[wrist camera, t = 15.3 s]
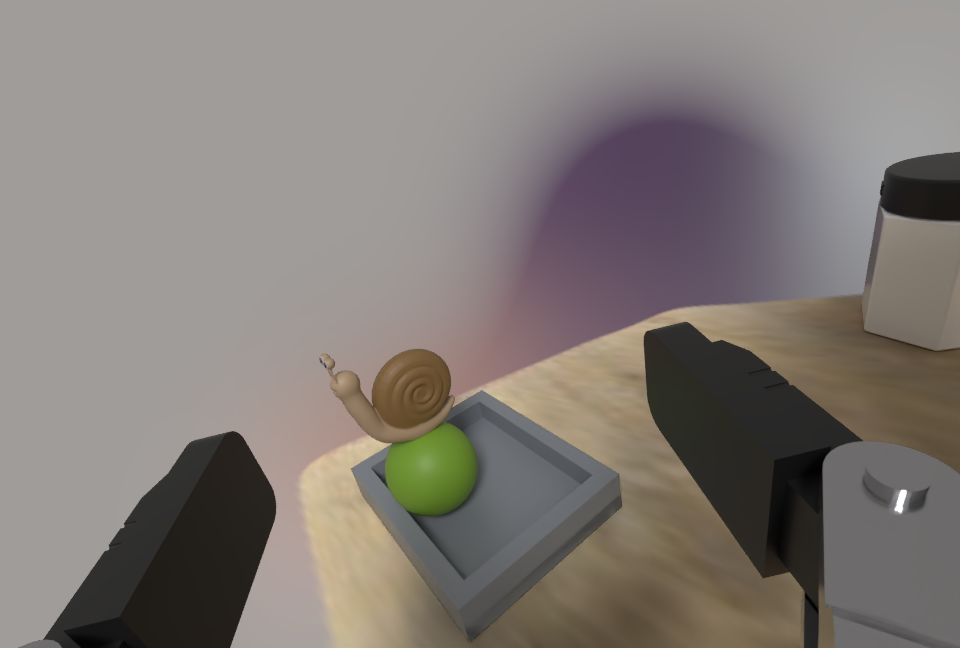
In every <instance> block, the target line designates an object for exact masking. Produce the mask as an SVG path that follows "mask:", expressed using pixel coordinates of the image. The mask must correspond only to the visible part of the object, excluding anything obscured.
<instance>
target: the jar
mask: <svg viewBox="0 0 960 648" xmlns="http://www.w3.org/2000/svg"><path fill="white" fill-rule="evenodd" d="M880 195H881V198H880V200H879V204H878V210H877V216H876V222H875V228H874V234H873V240H872V246H871V252H870V258H869V264H868V269H867V276H866V282H865V288H864V293H863V299H862V313H863V322H864V329H865V331H867V332H870V333H873V334H877V335H881V336H884V337H888V338H891V339H895V340H898V341H902V342H905V343H909V344H912V345H916V346H919V347H923V348H926V349H930V350H933V351H941V350H948V349H955V348H960V152H954V153H944V154H936V155H928V156H922V157H917V158H912V159H907V160H904V161H900V162H898V163H895V164H893V165H891V166H889V167H888V168H887V169H886V171H885V175H884V181H882V184H881V190H880Z"/></svg>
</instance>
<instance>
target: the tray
mask: <svg viewBox="0 0 960 648" xmlns="http://www.w3.org/2000/svg"><path fill="white" fill-rule="evenodd" d="M444 422H447V423H450V424H452V425H454V426H456V427H457V428H459V429H460V430H461V431H462V432H463V433H464V434H465V435H466V436H467V437H468V438H469V440H470V441H471V443H472V445H473V447H474V449H475V452H476V456H477V463H478V471H477V478H476V482H475V485H474V487H473V489H472V491H471V493H470V494H469V496H468V497H467V499H466V500H465V501H464V502H463V503H462V504H461V505H460V506H459V507H457V508H456V509H454V510H453V511H451V512H449V513H446V514H443V515H439V516H432V517H429V516H420V515H417V514H414V513H412V512H410V511H408V510H406V509H405V508H403V507H402V506H401V505H400V504H399V503H398V502H397V501H396V500H395V499H394V497H393V496H392V494H391V492H390V490H389V488H388V485H387V482H386V477H385V463H386V458H387V454H388V451H389V449H390V447H391V445H392V444H391V445H390V446H388V447H386V448H384V449H383V450H381V451H379V452H378V453H376V454H374V455H373V456H371V457H369V458H368V459H366V460H364V461H363V462H361V463H359V464H358V465H356V466H354V467H353V468H351V470H352V472H353V475H354V477H355V479H356V482H357V484H358V486H359V489H360V491H361V493H362V496H363V497H364V499H365V500H366V501H367V503H368V504H369V505H370V507H371V508H372V510H373V511H374V512H375V514H376V515H377V516H378V518H379V519H380V520H381V522H382V523H383V525H384V526H385V527H386V529H387V530H388V531H389V533H390V534H391V536H392V537H393V538H394V540H395V541H396V542H397V544H398V545H399V546H400V548H401V549H402V551H403V552H404V553H405V555H406V556H407V557H408V559H409V560H410V561H411V563H412V564H413V566H414V567H415V568H416V570H417V571H418V572H419V574H420V575H421V577H422V578H423V579H424V581H425V582H426V583H427V585H428V586H429V587H430V589H431V590H432V592H433V593H434V594H435V596H436V597H437V598H438V600H439V601H440V603H441V604H442V605H443V607H444V608H445V609H446V611H447V612H448V613H449V615H450V616H451V618H452V619H453V620H454V622H455V623H456V624H457V626H458V627H459V629H460V630H461V631H462V633H463V634H464V635H465V637H466V638H467V639H468V641H469V642H471V641H472V640H474V639H475V638H476V637H477V636H478V635H479V634H480V633H481V632H483V631H484V630H485V629H486V628H487V627H488V626H489V625H490V624H491V623H493V622H494V621H495V620H496V619H497V618H498V617H499V616H500V615H501V614H503V613H504V612H505V611H506V610H507V609H508V608H509V607H510V606H511V605H513V604H514V603H515V602H516V601H517V600H518V599H519V598H520V597H521V596H523V595H524V594H525V593H526V592H527V591H528V590H529V589H530V588H531V587H533V586H534V585H535V584H536V583H537V582H538V581H539V580H540V579H541V578H543V577H544V576H545V575H546V574H547V573H548V572H549V571H550V570H551V569H553V568H554V567H555V566H556V565H557V564H558V563H559V562H560V561H561V560H563V559H564V558H565V557H566V556H567V555H568V554H569V553H570V552H572V551H573V550H574V549H575V548H576V547H577V546H578V545H579V544H580V543H582V542H583V541H584V540H585V539H586V538H587V537H588V536H589V535H590V534H592V533H593V532H594V531H595V530H596V529H597V528H598V527H599V526H600V525H602V524H603V523H604V522H605V521H606V520H607V519H608V518H609V517H610V516H612V515H613V514H614V513H615V512H616V511H617V510H618V509H619V508H620V507H622V501H621V491H620V480H619V474H618V473H616V472H615V471H613V470H612V469H610V468H608V467H607V466H605V465H603V464H602V463H600V462H598V461H597V460H595V459H594V458H592V457H590V456H589V455H587V454H585V453H584V452H582V451H580V450H579V449H577V448H576V447H574V446H572V445H571V444H569V443H567V442H566V441H564V440H563V439H561V438H559V437H558V436H556V435H554V434H553V433H551V432H549V431H548V430H546V429H545V428H543V427H541V426H540V425H538V424H536V423H535V422H533V421H531V420H530V419H528V418H527V417H525V416H523V415H522V414H520V413H518V412H517V411H515V410H513V409H512V408H510V407H509V406H507V405H505V404H504V403H502V402H500V401H499V400H497V399H496V398H494V397H492V396H491V395H489V394H487V393H486V392H484V391H482V390H481V391H480V392H478V393H476V394H475V395H473V396H471V397H470V398H468V399H466V400H465V401H463V402H461V403H460V404H458V405H456V406H455V407H453V408H452V409H451V411H450V413H449V415H448V416H447V418H446V419H445V420H444Z"/></svg>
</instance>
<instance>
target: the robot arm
mask: <svg viewBox="0 0 960 648" xmlns="http://www.w3.org/2000/svg"><path fill="white" fill-rule="evenodd" d="M644 354H645V369H646V384H647V398H648V403H649V407H650V411H651V414H652V416H653V419H654V421H655V423H656V425H657V427H658V428H659V430H660V431H661V433H662V434H663V436H664V437H665V438H666V440H667V441H668V443H669V444H670V446H671V447H672V448H673V450H674V451H675V453H676V454H677V456H678V457H679V458H680V460H681V461H682V463H683V464H684V466H685V467H686V468H687V470H688V471H689V473H690V474H691V476H692V477H693V479H694V480H695V481H696V483H697V484H698V486H699V487H700V489H701V490H702V491H703V493H704V494H705V496H706V497H707V499H708V500H709V501H710V503H711V504H712V506H713V507H714V509H715V510H716V511H717V513H718V514H719V516H720V517H721V519H722V520H723V521H724V523H725V524H726V526H727V527H728V529H729V530H730V532H731V533H732V534H733V536H734V537H735V539H736V540H737V542H738V543H739V544H740V546H741V547H742V549H743V550H744V552H745V553H746V554H747V556H748V557H749V559H750V560H751V562H752V563H753V564H754V566H755V567H756V569H757V570H758V572H759V573H760V574H761V576H762V577H763V578H766V577H771V576H775V575H779V574H783V573H787V572H790V573H791V574H792V575H793V577H794V578H795V579H796V581H797V582H798V583H799V584H800V586H801V587H802V588H803V594H802V601H801V647H800V648H960V474H959V473H958V472H956V471H955V470H954V469H952V468H951V467H950V466H948V465H946V464H945V463H943V462H941V461H940V460H938V459H936V458H934V457H932V456H929V455H927V454H925V453H922V452H920V451H917V450H915V449H911V448H908V447H905V446H901V445H896V444H892V443H886V442H877V441H863V440H862V439H860V438H859V437H858V436H856V435H855V434H854V433H853V432H851V431H850V430H849V429H848V428H846V427H845V426H844V425H843V424H841V423H840V422H839V421H838V420H836V419H835V418H834V417H833V416H831V415H830V414H829V413H827V412H826V411H825V410H824V409H822V408H821V407H820V406H819V405H817V404H816V403H815V402H814V401H812V400H811V399H810V398H809V397H807V396H806V395H805V394H804V393H802V392H801V391H800V390H798V389H797V388H796V387H795V386H793V385H791V386H790V385H789V383H788V381H787V380H786V379H785V378H783V377H782V376H781V375H780V374H778V373H777V372H776V371H772V370H771V367H769V366H768V365H767V364H766V363H764V362H763V361H762V360H761V359H759V358H758V357H757V356H756V355H754V354H753V353H752V352H751V351H749V350H746V349H743V348H741V347H738V346H736V345H733V344H731V343H728V342H726V341H723V340H720V341H716V342H711V341H710V340H709V339H707V338H706V337H705V336H704V335H703V334H702V333H700V332H699V331H698V330H697V329H696V328H695V327H694V326H692V325H691V324H690V323H688V322H682V323H678V324H674V325H670V326H666V327H662V328H658V329H654V330H649V331H647V332H646V333H645V335H644ZM275 515H276V500H275V495H274V491H273V489H272V487H271V485H270V483H269V481H268V479H267V478H266V476H265V474H264V473H263V471H262V469H261V467H260V466H259V464H258V462H257V460H256V459H255V457H254V455H253V454H252V452H251V450H250V448H249V447H248V445H247V443H246V441H245V440H244V438H243V437H242V436H241V435H240V434H239V433H237V432H234V431H232V432H227V433H223V434H219V435H215V436H211V437H206V438H203V439H199V440H194V441H192V442H190V443H189V444H188V445H187V446H186V448H185V449H184V451H183V452H182V454H181V455H180V457H179V458H178V460H177V461H176V463H175V464H174V466H173V467H172V469H171V470H170V472H169V473H168V474H167V475H166V476H165V477H164V478H163V479H162V480H161V481H159V482H158V484H156V485H155V486H154V487H153V488H152V489H151V490H150V491H149V492H148V493H147V494H146V495H144V497H142V498H141V500H140V501H139V503H138V504H137V506H136V507H135V508H134V510H133V511H132V513H131V514H130V516H129V517H128V519H127V520H126V522H125V523H124V525H125V527H124V528H122V529H120V530H119V532H118V533H117V534H116V536H115V537H114V539H113V540H112V542H111V543H110V544H109V550H108V551H105V552H104V553H103V555H102V556H101V557H100V559H99V560H98V562H97V563H96V565H95V566H94V567H93V569H92V570H91V572H90V573H89V575H88V576H87V578H86V579H85V580H84V582H83V583H82V585H81V586H80V588H79V589H78V591H77V592H76V593H75V595H74V596H73V598H72V599H71V601H70V602H69V603H68V605H67V606H66V608H65V609H64V611H63V612H62V614H61V615H60V616H59V618H58V619H57V621H56V622H55V623H54V625H53V626H52V628H51V629H50V631H49V632H48V634H47V635H46V637H45V638H44V639H43V640H39V641H35V642H32V643H29V644H26V645H24V646H21V647H19V648H230V646H231V644H232V641H233V638H234V635H235V632H236V629H237V626H238V623H239V621H240V618H241V615H242V612H243V609H244V606H245V603H246V600H247V598H248V595H249V592H250V589H251V586H252V583H253V580H254V578H255V575H256V572H257V569H258V566H259V563H260V560H261V558H262V555H263V552H264V549H265V546H266V543H267V540H268V538H269V534H270V532H271V529H272V526H273V523H274V520H275Z"/></svg>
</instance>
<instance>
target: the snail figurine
mask: <svg viewBox="0 0 960 648" xmlns="http://www.w3.org/2000/svg"><path fill="white" fill-rule="evenodd" d="M320 362H321V363H322V364H323V365H324V366H325V368H326V369H327V370H328V372H329V369H330V371H331V373H330V372H329V374H330V376H331V378H332V380H331V383H330V388H331V389H332V390H333V391H334V395H335V396H336V397H338V398H339V399H340V400H341V401H342V402H343V404H344V405H345V407H346V409H347V410H348V412H349V413H350V414H351V416H352V417H353V418H354V419H355V421H356V422H357V423H358V425H359V426H360V427H361V428H362V429H363V430H364V431H365V432H366V433H367V434H368V435H370V436H371V437H372V438H374V439H376V440H378V441H380V442H384V443H392V445H391V447H390V449H389V451H388V454H387V458H386V463H385V477H386V482H387V485H388V488H389V490H390V492H391V494H392V496H393V497H394V499H395V500H396V501H397V502H398V503H399V504H400V505H401V506H402V507H403V508H405V509H406V510H408V511H410V512H412V513H414V514H417V515H420V516H429V517H432V516H439V515H443V514H446V513H449V512H451V511H453V510H454V509H456V508H457V507H459V506H460V505H461V504H462V503H463V502H464V501H465V500H466V499H467V497H468V496H469V494H470V493H471V491H472V489H473V487H474V485H475V482H476V478H477V471H478V463H477V456H476V452H475V449H474V447H473V445H472V443H471V441H470V440H469V438H468V437H467V436H466V435H465V434H464V433H463V432H462V431H461V430H460V429H459V428H457V427H456V426H454V425H452V424H450V423H447V422H444V420H445V419H446V418H447V416H448V415H449V413H450V411H451V409H452V406H453V404H454V400H455V397H454V396H452V395H451V396H448V395H449V392H450V387H451V376H450V372H449V369H448V367H447V365H446V363H445V362H444V361H443V360H442V358H441V357H440V356H438V355H437V354H435V353H434V352H431V351H428V350H424V349H413V350H407V351H404V352H401V353H400V354H398V355H396V356H394V357H393V358H392V359H390V360H389V361H388V362H387V363H386V364H385V365H384V366H383V367H382V368H381V370H380V372H379V373H378V375H377V377H376V379H375V381H374V384H373V389H372V403H373V406H372V405H371V404H370V402H369V401H368V400H367V398H366V397H365V396H364V394H363V393H362V391H361V389H360V380H359V378H358V376H357V375H356V374H355V373H353V372H351V371H341V372H338V373H337V374H336V375H335V376H334V375H333V373H332V368H333V367H334V366H335V361H334V360H333V359H331V358H330V356H329V355H328V354H322V355H321V356H320ZM331 374H332V375H331Z"/></svg>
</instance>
